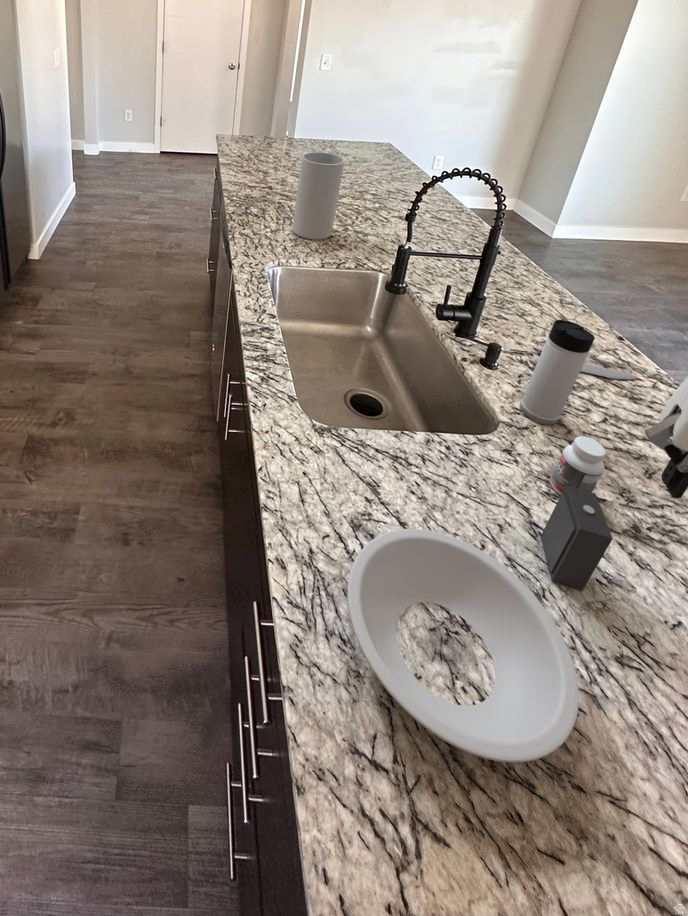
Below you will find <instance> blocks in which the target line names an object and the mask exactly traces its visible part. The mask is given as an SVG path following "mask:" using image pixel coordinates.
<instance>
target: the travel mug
mask: <svg viewBox="0 0 688 916" xmlns="http://www.w3.org/2000/svg"><path fill="white" fill-rule="evenodd" d="M595 337H596V336H595V335H594V334H593V333H591V332H590V331H588V330H586V329H585V327H584V326H582V325H581V324H577V323H575V322H573V321H569V320H565V319H556V320H554V322H553V324H552V327H551V329H550V332H549V333H548V336H547V338H546V340H545V343H544V345H543V348H542V350H541V352H540V353H541V355H540V357H539V356H538V357H539V358H538V360H537V362H536V364H535V367H534V370H533V371H532V375H531V377H530V379H529V382H528V384H527V387H526V389H525V392H524V394H523V396H522V399H521V401H520V404H519V408H520V411H521V412H522V413H523V414H524V415H525V416H526V417H527V418H529V419H530V420H532V421H534V422H536V423H538V424H542V425H547V426H549V425H554V424H557V422H559V419H560V417H561V414H562V412H563V410H564V408H565V406H566V403H567V401H568V399H569V397H570V396H571V395H570V394H571V392H572V390H573V388H574V386H575V383H576V381H577V379H578V377H579V375H580V372H582V371H581V368H582V366H583V364H584V363H586V362H585V361H586V360H587V357H588V355H589V354H590V353H589V352H590V351H591V348H592V345H593V343H594V341H595V339H596V338H595Z"/></svg>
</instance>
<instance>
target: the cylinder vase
mask: <svg viewBox="0 0 688 916" xmlns="http://www.w3.org/2000/svg"><path fill="white" fill-rule="evenodd" d="M344 166H345V158H344V157H342V156H340V155H337V154H334V153H330V152H322V151H310V152H306V153H304V154H302V156H301V163H300V171H299V177H298V184H297V192H296V198H295V206H294V213H293V219H292V227H291V228H292V232H293V233H294V234H295V235H296V236H299V237H300V238H303V239H307V240H315V241H321V240H325V239H328V238H330V237H331V236H332V233H333V228H334V223H335V217H336V211H337V207H338V206H337V205H338V201H339V200H338V199H339V194H340V190H341V189H340V188H341V185H342V184H341V183H342V177H343V173H344Z"/></svg>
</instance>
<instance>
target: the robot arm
mask: <svg viewBox="0 0 688 916" xmlns="http://www.w3.org/2000/svg"><path fill="white" fill-rule="evenodd" d="M644 434H645V435H646V437H647V440H648V441H649V442H650V443H651V444H653V445H654V446H656V447H657V448H659V449H660V450H663V451H664V452H665V453H666V455H667V456H668V457H669V458H670V459H669V461H668V463H667V465H666V466H665V468H664V469H663V471H662V473H661V481H662V483H663V484H664V485H665V487H666V489H667V491H668V493H669V495H670V497H671V498H673V499H677V500H679V499H682V497H683V495H684V494H685V492H686V491H687V489H688V376H687V377H686V378H685V379H684V380H682V382H681V383H680V385H679V386H678V387H677V388H676V389H675V391H674V393H673V394H672V395H671V396H670V398H669V399H668V401H667V402H666V404H665V405H664V407H663V409H662V410H661V412H660V414H659V416H658V422H657V423H656V424H654V425H652V426H650V427H648V428H647V429H646V430H644ZM671 437H672V438H671Z"/></svg>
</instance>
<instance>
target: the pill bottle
mask: <svg viewBox="0 0 688 916" xmlns="http://www.w3.org/2000/svg"><path fill="white" fill-rule="evenodd" d="M605 456H606V449H605V448H604V447H603V446H602V444H601V443H599V442H598V441H596V440H595V439H593V438H591V437H588V436H583V435H582V436H576V437H575V438H574V440H573V442H572V444H569V445H567V446H565V447H564V448H563V450H562V452H561V454H560V457H559V459H558V461H557V463H556V465H555V466H554V469H553V471H552V473H551V475H550V477H549V483H550V487H551V488H552V489H553V490H554V492H556V493H557V495H559V497H560V496H561V494H562V492H563V490H564V488H565V486H566V485H567V486H570V487H574V488H577V489H581V490H584V491H588V492H591V493H594V489H595V488H596V486H597V485H598V483H599V481H600V479H601V477H602V475H603V473H604V471H605V463H604V457H605Z"/></svg>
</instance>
